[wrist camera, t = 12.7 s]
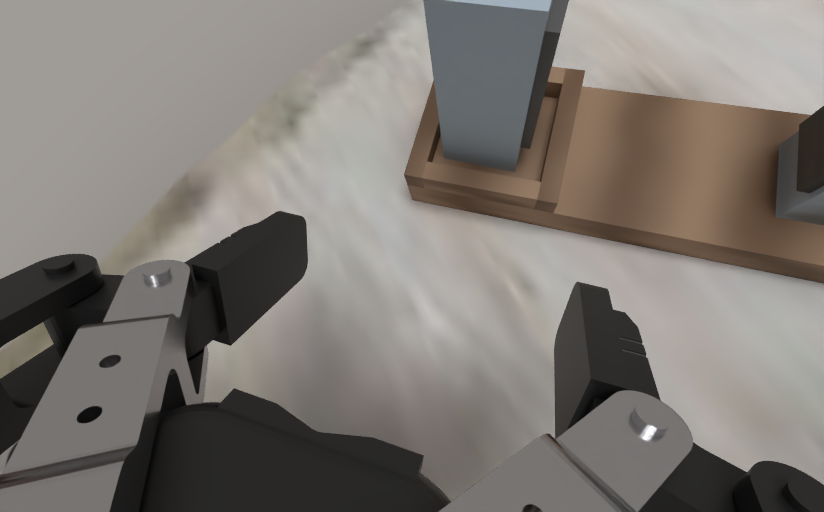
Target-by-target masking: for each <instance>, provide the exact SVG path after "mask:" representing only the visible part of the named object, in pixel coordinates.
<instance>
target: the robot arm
mask: <svg viewBox="0 0 824 512" xmlns="http://www.w3.org/2000/svg"><path fill="white" fill-rule="evenodd" d="M307 264H308V254H307V230H306V221H305V219H304V217H302V216H299V215H295V214H290V213H286V212H282V211H278V212H276V213H274V214H272V215H271V216H269V217H267V218H266V219H264V220H263V221H261V222H259V223H256V224H253V225H250V226H247V227H243V228H242V229H240V230H238V231H237V232H235V233H233V234H232V235H231V237H227V238H225V239H223V240H222V241H220V243H217V244H215V245H213V246H212V247H210V248H208V249H207V250H205V251H203V252H202V253H200V254H198V255H197V256H195V257H193V258H192V259H190V260H188V261H187V262H185V263H183V262H180V261H175V260H160V261H153V262H149V263H145V264H143V265H140V266H138V267H135V268H134V269H132V270H130V271H129V272H128V273H127V274H126V275H125V276H121V275H103V274H101V271H100V269H99V266H98V263H97V260H96V259H95V258H94V257H92V256H89V255H85V254H67V255H60V256H55V257H51V258H48V259H45V260H42V261H39V262H37V263H35V264H33V265H30V266H28V267H26V268H24V269H22V270H19V271H17V272H15V273H13V274H11V275H9V276H6V277H5V278H2V279H0V348H1V347H2V346H3V345H5V344H6V343H8V342H9V341H11V340H13V339H15V338H16V337H18V336H20V335H21V334H23V333H25V332H27V331H28V330H30V329H32V328H33V327H35V326H37V325H38V324H40V323H42V322H44V324H45V327H46V329H47V331H48V333H49V335H50V337H51V339H52V341H53V343H54V344H53V345H52V346H50V347H49V348H47V349H46V350H44V351H43V352H41V353H40V354H38V355H36V356H35V357H33V358H32V359H30V360H29V361H27V362H26V363H24V364H23V365H21V366H19V367H18V368H16V369H15V370H13V371H12V372H10V373H9V374H7V375H6V376H4V377H3V378H1V379H0V455H1V454H2V453H3V452H5V451H6V450H7V449H8V448H10V447H11V446H12V445H14V444H15V443H16V442H17V441H19V442H18V444H17V446H16V448H15V450H14V452H13V454H12V456H11V457H10V459H9V461H8V463H7V465H6V467H5V469H4V470H3V472H2V473H1V474H0V512H824V485H823V484H821V483H820V482H818V481H817V480H815V479H814V478H812V477H811V476H809V475H807V474H806V473H804V472H802V471H800V470H798V469H796V468H793V467H791V466H788V465H786V464H782V463H779V462H774V461H762V462H758V463H756V464H755V465H754V466H753V467H752V468H751V469H750V470H749V471H748V472H745V471H743V470H742V469H740V468H738V467H736V466H734V465H732V464H730V463H728V462H727V461H725V460H723V459H721V458H719V457H717V456H715V455H713V454H711V453H710V452H708V451H706V450H704V449H703V448H701V447H699V446H698V445H696V444H695V443H693V438H692V435H691V432H690V430H689V428H688V426H687V425H686V423H685V422H684V420H683V419H682V418H681V417H680V416H679V415H678V414H677V413H676V412H675V411H674V410H673V409H672V408H670V407H669V406H668V405H666V404H665V403H663V402H662V401H661V400H660V397H659V394H658V391H657V387H656V384H655V381H654V378H653V374H652V371H651V368H650V365H649V362H648V358H646V352H645V349H644V345H642V339H641V336H640V333H639V329H638V327H637V326H636V325H635V323H634V322H633V321H632V320H631V319H630V318H629V316H628V315H627V314H626V313H625V312H621V311H617V310H613V308H612V304H611V300H610V296H609V291H608V289H606V288H602V287H597V286H593V285H589V284H585V283H580V282H577V283H576V284H575V286H574V288H573V290H572V293H571V295H570V298H569V301H568V303H567V306H566V309H565V311H564V314H563V317H562V319H561V322H560V325H559V328H558V331H557V335H556V339H555V346H554V370H555V439H554V438H553V437H552V436H551V435H550V434H544V435H542V436H540V437H538V438H537V439H535V440H534V441H533V442H531V443H530V444H529V445H527V446H526V447H525V448H523V449H522V450H521V451H519V452H518V453H517V454H515V455H514V456H513V457H511V458H510V459H508V460H507V461H506V462H504V463H503V464H502V465H500V466H499V467H498V468H496V469H495V470H494V471H492V472H491V473H490V474H488V475H487V476H486V477H484V478H483V479H482V480H480V481H479V482H478V483H476V484H475V485H474V486H472V487H471V488H470V489H468V490H467V491H465V492H464V493H463V494H461V495H460V496H459V497H457V498H456V499H455V500H453V501H452V502H451V501H450V500H449V499H448V497H447V496H446V495H445V494H444V493H443V492H442V491H441V490H440V489H439V488H438V487H437V486H436V485H435V484H434V483H432V482H431V481H430V480H429V479H427V478H426V477H425V476H423V475H422V474H420V472H421V467H422V462H423V455H420V454H417V453H415V452H412V451H409V450H406V449H403V448H400V447H398V446H395V445H392V444H389V443H386V442H384V441H381V440H378V439H375V438H371V437H361V436H350V435H340V434H330V433H321V432H317V431H315V430H313V429H311V428H310V427H308V426H307V425H306V424H304V423H303V422H302V421H300V420H299V419H297V418H296V417H295V416H293V415H292V414H290V413H289V412H288V411H286V410H285V409H284V408H282V407H281V406H279V405H278V404H276V403H274V402H271V401H268V400H265V399H262V398H259V397H257V396H254V395H251V394H248V393H245V392H243V391H240V390H237V389H233V390H232V391H231V392H230V393H229V394H228V396H227V397H226V398H225V399H224V400H223V401H222V402H221V403H219V402H216V403H203V401H204V391H205V382H206V373H207V364H208V348H207V344H209V343H210V342H211V341H212V340H215V341H218V342H221V343H224V344H227V345H230V346H231V345H232V344H233V343H234V342H235V341H236V340H237V339H238V338H239V337H241V336H242V335H243V334H244V333H245V332H246V331H247V330H248V329H249V328H250V327H251V326H252V325H253V324H254V323H255V322H256V321H257V320H259V319H260V318H261V317H262V316H263V315H264V314H265V313H266V312H267V311H268V310H269V309H270V308H271V307H272V306H273V305H274V304H275V303H277V302H278V301H279V300H280V299H281V298H282V297H283V296H284V295H285V294H286V293H287V292H288V291H289V290H290V289H291V288H292V287H293V286H295V285H296V284H297V283H298V282H299V281H300V280H301V279H302V277H303V276H304V274H305V272H306V269H307Z"/></svg>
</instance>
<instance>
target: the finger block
mask: <svg viewBox="0 0 824 512" xmlns="http://www.w3.org/2000/svg"><path fill="white" fill-rule="evenodd" d="M568 1H569V0H424V8H425V16H426V23H427V31H428V39H429V46H430V54H431V62H432V70H433V77H434V85H435V93H436V100H437V108H438V116H439V123H440V131H441V139H442V146H443V154H444V158H446V159H451V160H456V161H461V162H466V163H471V164H476V165H481V166H486V167H491V168H496V169H501V170H506V171H511V172H515V168H516V164H517V161H518V157H519V153H520V149H521V148H526V149H530V147H531V144H532V140H533V136H534V132H535V128H536V124H537V121H538V117H539V113H540V109H541V105H542V101H543V98H544V94H545V90H546V86H547V82H548V78H549V75H550V71H551V67H552V63H553V59H554V55H555V51H556V48H557V44H558V40H559V36H560V32H561V28H562V24H563V21H564V17H565V13H566V9H567V5H568Z"/></svg>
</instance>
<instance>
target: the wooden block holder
mask: <svg viewBox="0 0 824 512" xmlns="http://www.w3.org/2000/svg"><path fill="white" fill-rule="evenodd" d="M584 73H585V71H584V70H575V69H567V68H558V67H551V71H550V75H549V78H548V82H547V86H546V90H545V94H544V98H543V101H542V105H541V109H540V113H539V117H538V121H537V124H536V128H535V132H534V136H533V140H532V144H531V147H530V149H526V148H521V149H520V153H519V157H518V161H517V164H516V168H515V172H511V171H506V170H501V169H496V168H491V167H486V166H481V165H476V164H471V163H466V162H461V161H456V160H451V159H446V158H444V154H443V146H442V139H441V131H440V123H439V116H438V108H437V100H436V93H435V85H434V81H433V84H432V87H431V91H430V94H429V97H428V100H427V103H426V107H425V110H424V113H423V116H422V119H421V122H420V126H419V129H418V132H417V135H416V138H415V142H414V145H413V148H412V151H411V154H410V157H409V161H408V164H407V167H406V170H405V173H404V176H405V179H406V182H407V184H408V187H409V190H410V193H411V196H412V199H413V200H417V201H422V202H427V203H431V204H436V205H441V206H446V207H451V208H456V209H461V210H466V211H471V212H476V213H481V214H486V215H491V216H496V217H501V218H505V219H510V220H515V221H520V222H525V223H530V224H535V225H540V226H545V227H550V228H555V229H560V230H565V231H570V232H574V233H579V234H584V235H589V236H594V237H599V238H604V239H609V240H614V241H619V242H624V243H629V244H634V245H639V246H643V247H648V248H653V249H658V250H663V251H668V252H673V253H678V254H683V255H688V256H693V257H698V258H703V259H708V260H713V261H717V262H722V263H727V264H732V265H737V266H742V267H747V268H752V269H757V270H762V271H767V272H772V273H777V274H782V275H786V276H791V277H796V278H801V279H806V280H811V281H816V282H821V283H824V106H823V107H822V108H820V109H819V110H818V111H816V112H815V113H814V114H812V115H806V114H798V113H790V112H782V111H774V110H766V109H758V108H750V107H742V106H734V105H726V104H718V103H710V102H702V101H694V100H686V99H678V98H670V97H662V96H654V95H646V94H638V93H630V92H622V91H614V90H606V89H599V88H591V87H583V86H582V83H583V78H584Z"/></svg>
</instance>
